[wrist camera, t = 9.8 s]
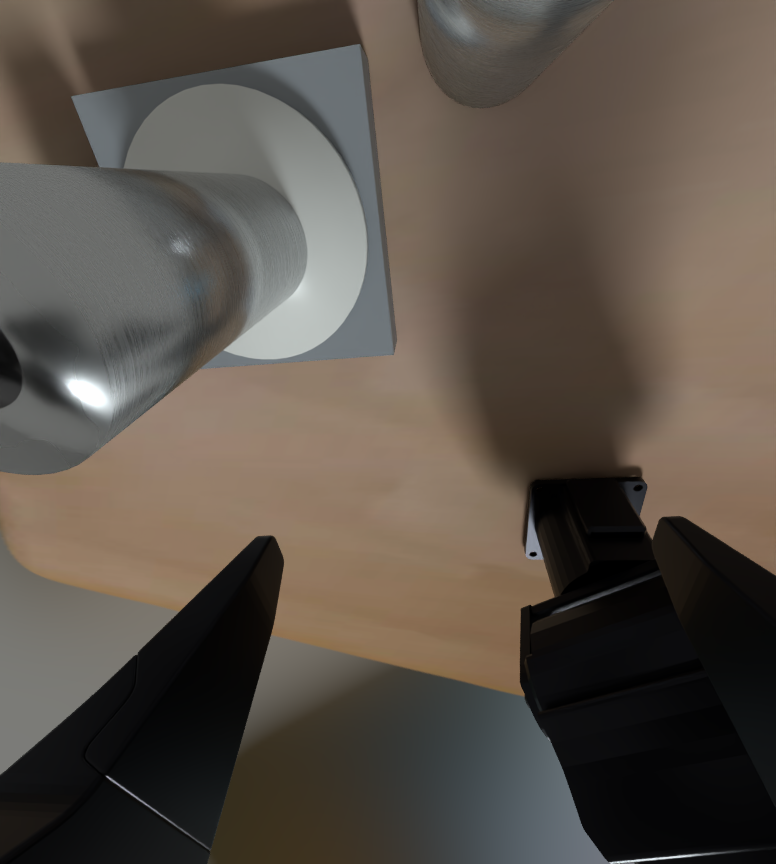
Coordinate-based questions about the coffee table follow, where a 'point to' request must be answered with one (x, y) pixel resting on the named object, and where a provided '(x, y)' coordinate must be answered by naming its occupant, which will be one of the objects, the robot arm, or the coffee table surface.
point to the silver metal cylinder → (125, 294)
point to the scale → (277, 183)
